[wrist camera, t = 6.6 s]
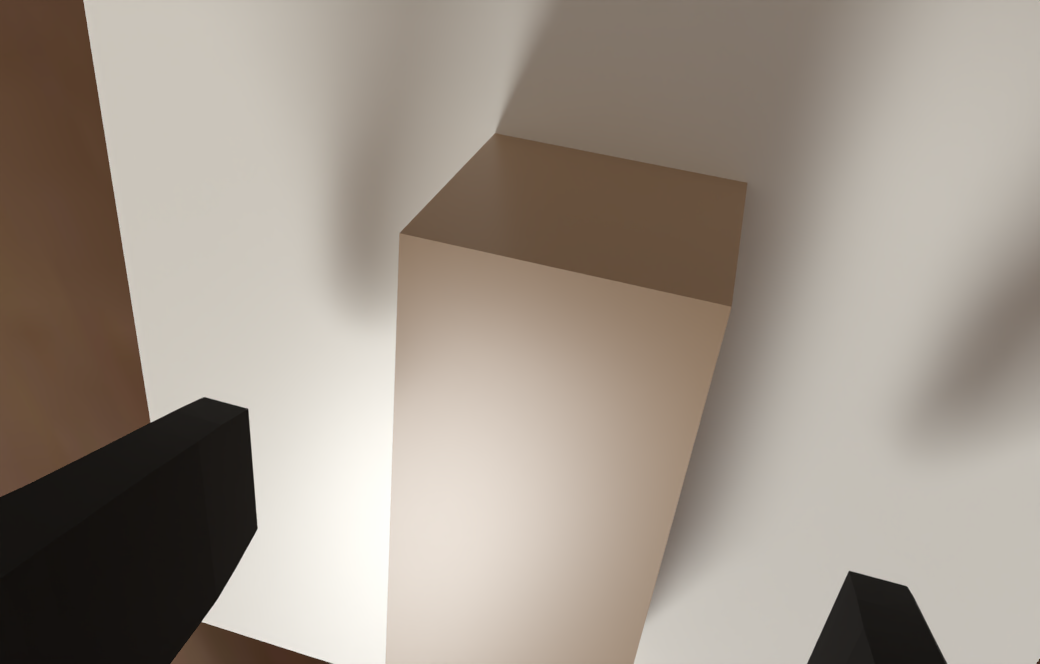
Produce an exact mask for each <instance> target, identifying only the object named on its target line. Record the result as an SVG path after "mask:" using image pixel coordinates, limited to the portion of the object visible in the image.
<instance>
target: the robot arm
mask: <svg viewBox="0 0 1040 664" xmlns="http://www.w3.org/2000/svg"><path fill="white" fill-rule="evenodd" d="M257 529H258V526H257V513H256V500H255V488H254V475H253V462H252V449H251V436H250V424H249V411H248V409H247V408H244V407H240V406H236V405H232V404H229V403H225V402H221V401H218V400H214V399H210V398H206V397H203V398H201V399H198V400H196V401H194V402H192V403H190V404H187V405H185V406H183V407H181V408H179V409H177V410H175V411H173V412H171V413H169V414H167V415H165V416H163V417H161V418H159V419H157V420H155V421H153V422H151V423H149V424H147V425H145V426H143V427H141V428H139V429H137V430H135V431H133V432H132V433H130V434H128V435H126V436H124V437H122V438H120V439H118V440H116V441H114V442H112V443H110V444H108V445H106V446H104V447H102V448H100V449H98V450H96V451H94V452H92V453H90V454H88V455H86V456H84V457H82V458H80V459H78V460H76V461H74V462H72V463H70V464H68V465H66V466H64V467H62V468H60V469H58V470H56V471H54V472H52V473H50V474H48V475H46V476H44V477H42V478H40V479H38V480H36V481H34V482H32V483H30V484H28V485H26V486H24V487H22V488H19V489H17V490H15V491H13V492H11V493H8V494H6V495H4V496H2V497H0V664H170V663H171V662H172V660H173V659H174V658H175V657H176V655H177V654H178V652H179V651H180V650H181V648H182V647H183V646H184V644H185V643H186V642H187V640H188V639H189V638H190V636H191V635H192V634H193V632H194V631H195V630H196V628H197V627H198V626H199V624H200V623H201V622H202V620H203V619H204V618H205V616H206V615H207V613H208V612H209V611H210V609H211V608H212V607H213V605H214V604H215V602H216V601H217V600H218V598H219V596H220V594H221V593H222V591H223V589H224V588H225V586H226V584H227V583H228V581H229V579H230V578H231V576H232V574H233V573H234V571H235V569H236V567H237V566H238V564H239V562H240V560H241V558H242V557H243V555H244V553H245V551H246V549H247V548H248V546H249V544H250V542H251V540H252V538H253V537H254V535H255V533H256V531H257ZM807 664H947V662H946V660H945V658H944V656H943V654H942V652H941V650H940V648H939V646H938V644H937V642H936V640H935V638H934V636H933V634H932V632H931V630H930V628H929V626H928V624H927V622H926V620H925V618H924V616H923V614H922V612H921V610H920V608H919V606H918V604H917V602H916V600H915V598H914V596H913V595H912V593H911V592H910V590H909V588H908V587H907V586H904V585H901V584H897V583H893V582H890V581H886V580H882V579H878V578H875V577H871V576H867V575H864V574H860V573H856V572H852V571H849V572H848V574H847V576H846V578H845V580H844V583H843V585H842V587H841V589H840V592H839V594H838V596H837V598H836V600H835V603H834V605H833V607H832V609H831V612H830V614H829V616H828V618H827V620H826V623H825V625H824V627H823V629H822V632H821V634H820V636H819V638H818V640H817V643H816V645H815V647H814V649H813V652H812V654H811V656H810V658H809V660H808V663H807Z"/></svg>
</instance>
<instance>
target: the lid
mask: <svg viewBox="0 0 1040 664" xmlns="http://www.w3.org/2000/svg"><path fill="white" fill-rule="evenodd" d="M84 7H85V13H86V19H87V25H88V32H89V38H90V44H91V51H92V57H93V63H94V69H95V76H96V82H97V88H98V95H99V101H100V107H101V113H102V120H103V126H104V132H105V139H106V145H107V151H108V157H109V164H110V170H111V176H112V183H113V189H114V195H115V201H116V208H117V214H118V220H119V226H120V233H121V239H122V245H123V252H124V258H125V264H126V270H127V277H128V283H129V289H130V296H131V302H132V308H133V314H134V321H135V327H136V333H137V340H138V346H139V352H140V358H141V365H142V371H143V377H144V384H145V390H146V396H147V402H148V409H149V415H150V421H151V422H153V421H155V420H157V419H159V418H161V417H163V416H165V415H167V414H169V413H171V412H173V411H175V410H177V409H179V408H181V407H183V406H185V405H187V404H190V403H192V402H194V401H196V400H198V399H201V398H203V397H206V398H210V399H214V400H218V401H221V402H225V403H229V404H232V405H236V406H240V407H244V408H247V409H248V411H249V424H250V436H251V449H252V462H253V475H254V488H255V500H256V513H257V526H258V529H257V531H256V533H255V535H254V537H253V538H252V540H251V542H250V544H249V546H248V548H247V549H246V551H245V553H244V555H243V557H242V558H241V560H240V562H239V564H238V566H237V567H236V569H235V571H234V573H233V574H232V576H231V578H230V579H229V581H228V583H227V584H226V586H225V588H224V589H223V591H222V593H221V594H220V596H219V598H218V600H217V601H216V602H215V604H214V605H213V607H212V608H211V609H210V611H209V612H208V613H207V615H206V616H205V618H204V619H203V620H202V622H204V623H207V624H210V625H213V626H216V627H220V628H223V629H226V630H229V631H232V632H235V633H238V634H242V635H245V636H248V637H251V638H254V639H257V640H261V641H264V642H267V643H270V644H273V645H276V646H279V647H283V648H286V649H289V650H292V651H295V652H298V653H301V654H305V655H308V656H311V657H314V658H317V659H320V660H324V661H327V662H330V663H333V664H807V663H808V660H809V658H810V656H811V654H812V652H813V649H814V647H815V645H816V643H817V640H818V638H819V636H820V634H821V632H822V629H823V627H824V625H825V623H826V620H827V618H828V616H829V614H830V612H831V609H832V607H833V605H834V603H835V600H836V598H837V596H838V594H839V592H840V589H841V587H842V585H843V583H844V580H845V578H846V576H847V574H848V572H849V571H852V572H856V573H860V574H864V575H867V576H871V577H875V578H878V579H882V580H886V581H890V582H893V583H897V584H901V585H904V586H907V587H908V588H909V590H910V592H911V593H912V595H913V596H914V598H915V600H916V602H917V604H918V606H919V608H920V610H921V612H922V614H923V616H924V618H925V620H926V622H927V624H928V626H929V628H930V630H931V632H932V634H933V636H934V638H935V640H936V642H937V644H938V646H939V648H940V650H941V652H942V654H943V656H944V658H945V660H946V662H947V664H1036V663H1037V662H1038V660H1039V659H1040V0H84Z"/></svg>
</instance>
